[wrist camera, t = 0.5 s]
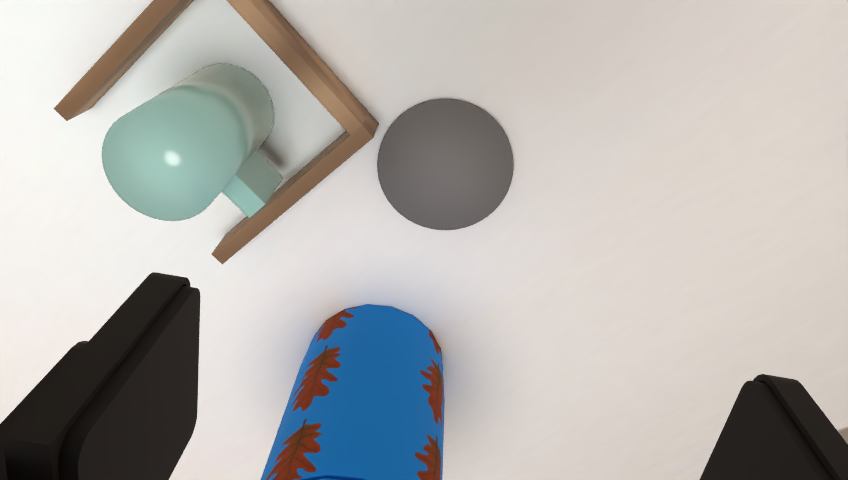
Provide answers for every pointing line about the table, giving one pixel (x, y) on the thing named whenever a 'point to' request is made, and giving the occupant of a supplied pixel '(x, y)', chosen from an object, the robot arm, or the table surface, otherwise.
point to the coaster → (445, 164)
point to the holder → (290, 49)
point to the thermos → (364, 402)
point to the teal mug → (194, 146)
